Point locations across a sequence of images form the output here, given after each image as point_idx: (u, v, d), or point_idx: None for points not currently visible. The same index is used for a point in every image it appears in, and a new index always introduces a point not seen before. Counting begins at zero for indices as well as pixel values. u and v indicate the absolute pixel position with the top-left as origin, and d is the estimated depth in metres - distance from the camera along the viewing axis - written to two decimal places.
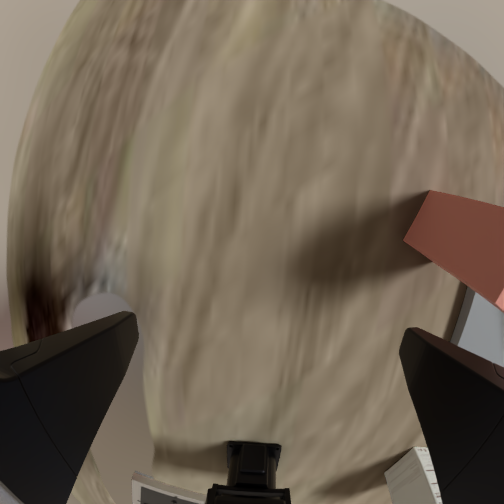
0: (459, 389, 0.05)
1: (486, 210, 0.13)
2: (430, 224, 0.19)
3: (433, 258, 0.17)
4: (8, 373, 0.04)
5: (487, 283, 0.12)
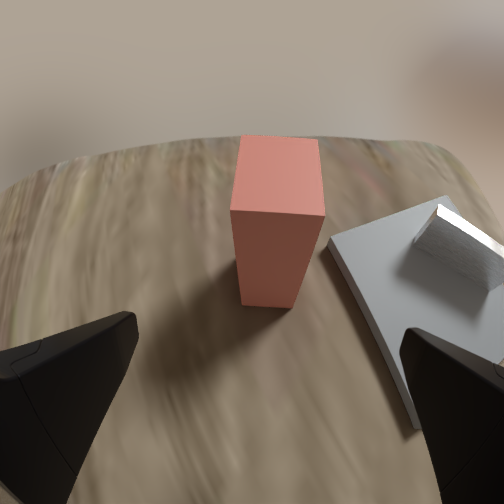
0: (459, 389, 0.05)
1: None
2: None
3: None
4: (8, 373, 0.04)
5: None
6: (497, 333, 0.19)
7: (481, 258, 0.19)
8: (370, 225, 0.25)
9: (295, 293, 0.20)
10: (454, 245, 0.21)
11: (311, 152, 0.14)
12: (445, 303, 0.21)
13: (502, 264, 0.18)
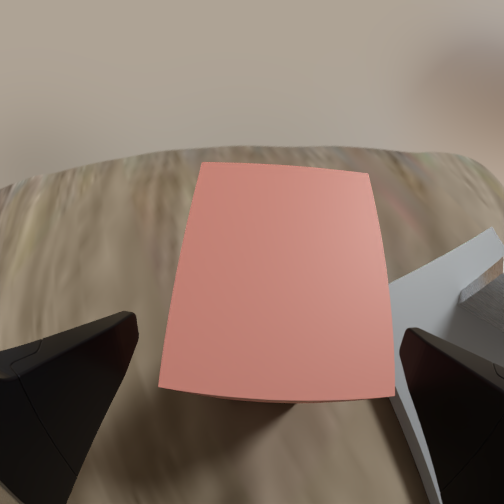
0: (459, 389, 0.05)
1: None
2: None
3: None
4: (8, 373, 0.04)
5: None
6: None
7: None
8: (407, 279, 0.17)
9: None
10: None
11: (361, 209, 0.06)
12: None
13: None
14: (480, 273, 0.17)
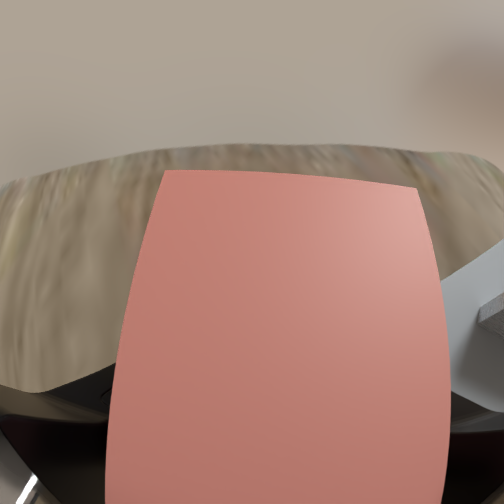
0: None
1: None
2: None
3: None
4: (104, 411, 0.04)
5: None
6: None
7: None
8: None
9: None
10: None
11: (412, 247, 0.04)
12: None
13: None
14: (499, 287, 0.15)
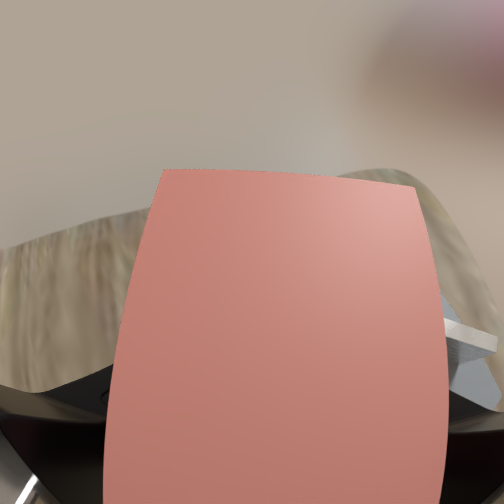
0: None
1: None
2: None
3: None
4: (104, 411, 0.04)
5: None
6: None
7: None
8: None
9: None
10: None
11: (409, 246, 0.04)
12: None
13: (473, 349, 0.15)
14: None
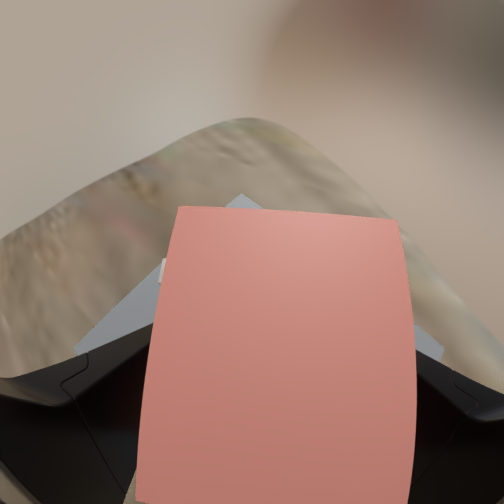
0: None
1: None
2: None
3: None
4: (60, 396, 0.04)
5: None
6: None
7: None
8: (117, 310, 0.17)
9: None
10: None
11: (388, 274, 0.04)
12: None
13: None
14: None
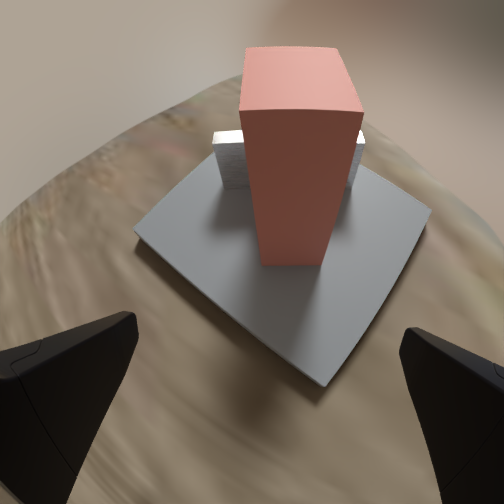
0: (459, 389, 0.05)
1: None
2: None
3: (256, 223, 0.15)
4: (8, 373, 0.04)
5: None
6: (386, 227, 0.20)
7: None
8: (170, 194, 0.23)
9: (326, 242, 0.16)
10: None
11: (333, 58, 0.10)
12: None
13: None
14: None
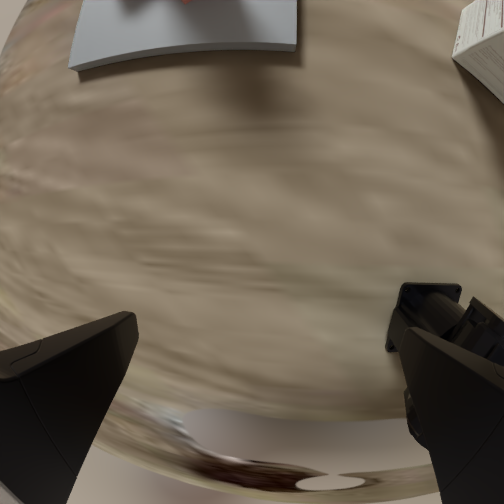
0: (459, 389, 0.05)
1: None
2: None
3: None
4: (7, 373, 0.04)
5: None
6: None
7: None
8: (79, 26, 0.16)
9: None
10: None
11: None
12: None
13: None
14: None
